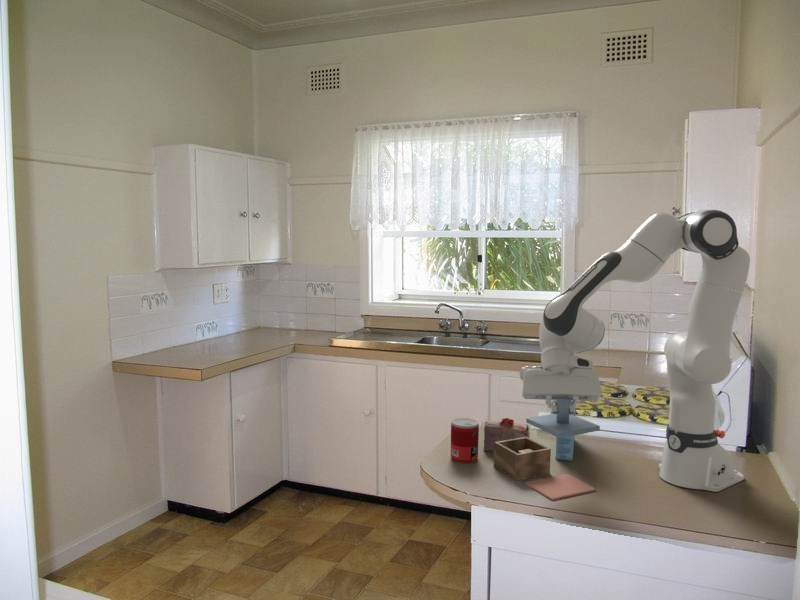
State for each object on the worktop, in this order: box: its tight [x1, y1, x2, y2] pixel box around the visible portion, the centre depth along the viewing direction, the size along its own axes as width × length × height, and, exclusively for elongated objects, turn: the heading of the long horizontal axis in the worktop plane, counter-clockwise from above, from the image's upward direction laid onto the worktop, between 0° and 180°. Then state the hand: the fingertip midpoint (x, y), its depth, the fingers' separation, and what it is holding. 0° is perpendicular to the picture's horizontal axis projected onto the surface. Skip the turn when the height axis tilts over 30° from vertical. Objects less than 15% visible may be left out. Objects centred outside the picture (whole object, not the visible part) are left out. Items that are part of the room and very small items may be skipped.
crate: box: [493, 437, 552, 481], centre depth 181 cm, size 11×11×7 cm
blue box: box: [555, 400, 576, 462], centre depth 196 cm, size 20×5×23 cm, turn 163°
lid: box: [525, 398, 601, 438], centre depth 167 cm, size 13×13×8 cm
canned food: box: [450, 417, 480, 464], centre depth 189 cm, size 8×8×11 cm
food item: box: [483, 417, 531, 452], centre depth 196 cm, size 14×8×10 cm, turn 77°
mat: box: [524, 473, 597, 501], centre depth 170 cm, size 14×11×1 cm
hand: (563, 413), depth 166 cm, fingers closed on lid, 3 cm apart
